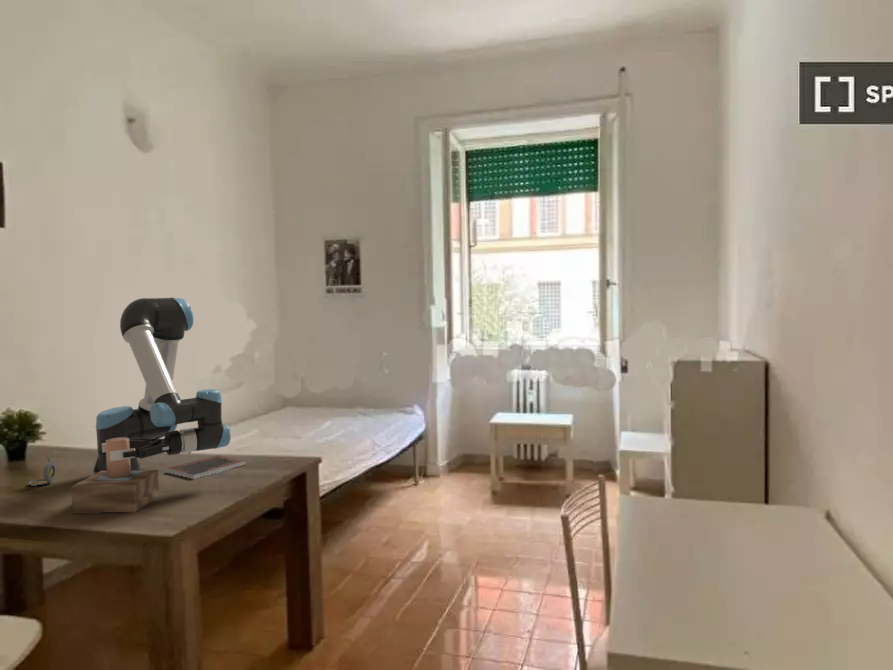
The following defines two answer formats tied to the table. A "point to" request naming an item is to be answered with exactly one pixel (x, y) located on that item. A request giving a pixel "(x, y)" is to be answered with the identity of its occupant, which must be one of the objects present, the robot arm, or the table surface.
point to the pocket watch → (47, 473)
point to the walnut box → (115, 492)
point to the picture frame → (205, 467)
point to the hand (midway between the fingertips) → (105, 452)
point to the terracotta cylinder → (118, 466)
